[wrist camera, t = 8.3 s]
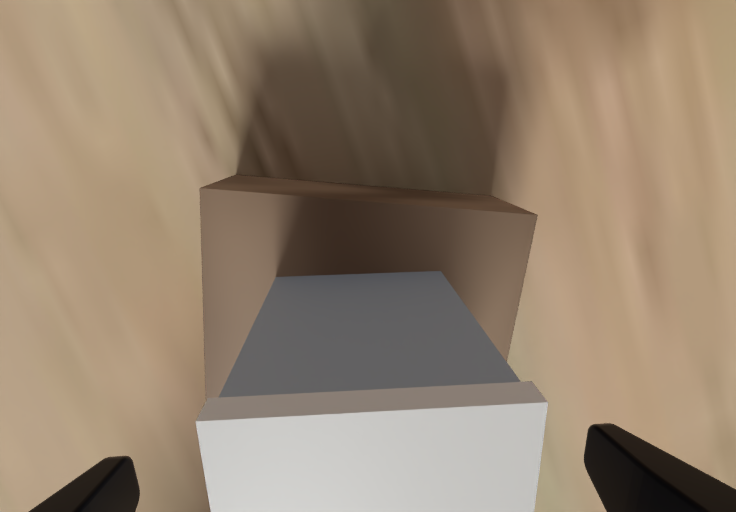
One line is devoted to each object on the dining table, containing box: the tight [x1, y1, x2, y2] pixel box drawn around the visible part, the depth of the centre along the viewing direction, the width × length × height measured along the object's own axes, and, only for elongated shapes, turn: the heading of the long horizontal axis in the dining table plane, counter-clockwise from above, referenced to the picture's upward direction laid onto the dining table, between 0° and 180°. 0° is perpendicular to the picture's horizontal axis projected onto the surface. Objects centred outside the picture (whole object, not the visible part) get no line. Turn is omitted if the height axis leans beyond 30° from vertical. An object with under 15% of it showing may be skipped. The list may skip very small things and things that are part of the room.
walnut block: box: [200, 175, 537, 400], centre depth 14 cm, size 9×9×4 cm
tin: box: [196, 271, 548, 512], centre depth 9 cm, size 5×5×6 cm
